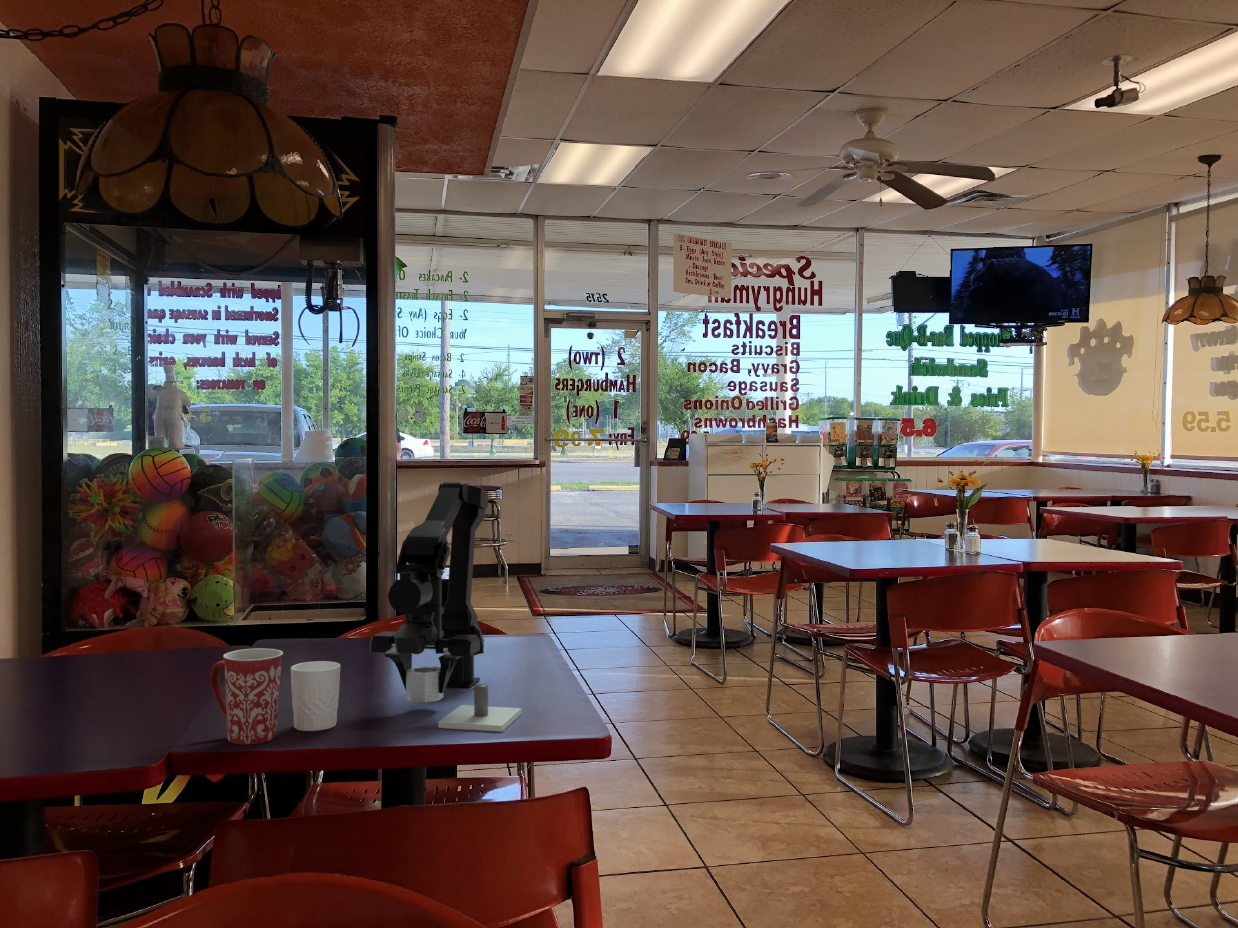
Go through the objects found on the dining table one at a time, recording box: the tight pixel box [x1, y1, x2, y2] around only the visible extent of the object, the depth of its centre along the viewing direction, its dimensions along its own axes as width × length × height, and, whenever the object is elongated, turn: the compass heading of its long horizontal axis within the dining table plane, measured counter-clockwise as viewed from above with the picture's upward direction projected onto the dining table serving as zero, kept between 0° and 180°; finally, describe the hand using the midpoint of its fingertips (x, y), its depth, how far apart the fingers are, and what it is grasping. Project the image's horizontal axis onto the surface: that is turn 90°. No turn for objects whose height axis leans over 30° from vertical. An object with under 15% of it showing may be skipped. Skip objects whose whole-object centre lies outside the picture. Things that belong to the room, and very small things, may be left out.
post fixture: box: [437, 683, 522, 733], centre depth 161 cm, size 11×11×6 cm
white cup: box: [290, 660, 341, 732], centre depth 157 cm, size 8×8×10 cm
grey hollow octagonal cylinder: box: [405, 665, 444, 704], centre depth 167 cm, size 6×6×5 cm
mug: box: [209, 647, 284, 745], centre depth 151 cm, size 13×9×14 cm
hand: (424, 691), depth 167 cm, fingers closed on grey hollow octagonal cylinder, 6 cm apart
